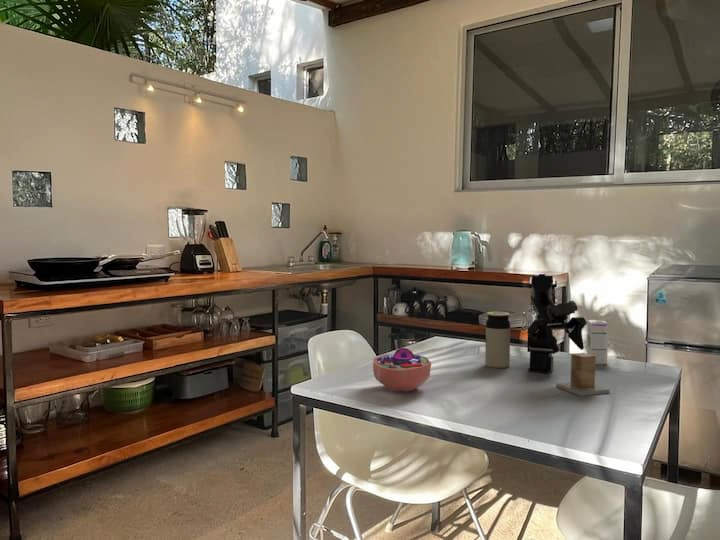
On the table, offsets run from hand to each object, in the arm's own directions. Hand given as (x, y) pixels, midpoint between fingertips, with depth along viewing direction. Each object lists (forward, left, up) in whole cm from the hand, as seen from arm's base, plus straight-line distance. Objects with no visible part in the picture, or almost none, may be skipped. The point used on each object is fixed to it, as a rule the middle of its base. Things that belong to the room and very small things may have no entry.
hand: (570, 350), depth 162 cm
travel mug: (-26, +10, -10) cm, 30 cm away
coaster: (+5, -4, -10) cm, 12 cm away
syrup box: (0, +36, -10) cm, 38 cm away
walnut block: (+5, -4, -9) cm, 11 cm away
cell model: (-37, -34, -10) cm, 52 cm away
